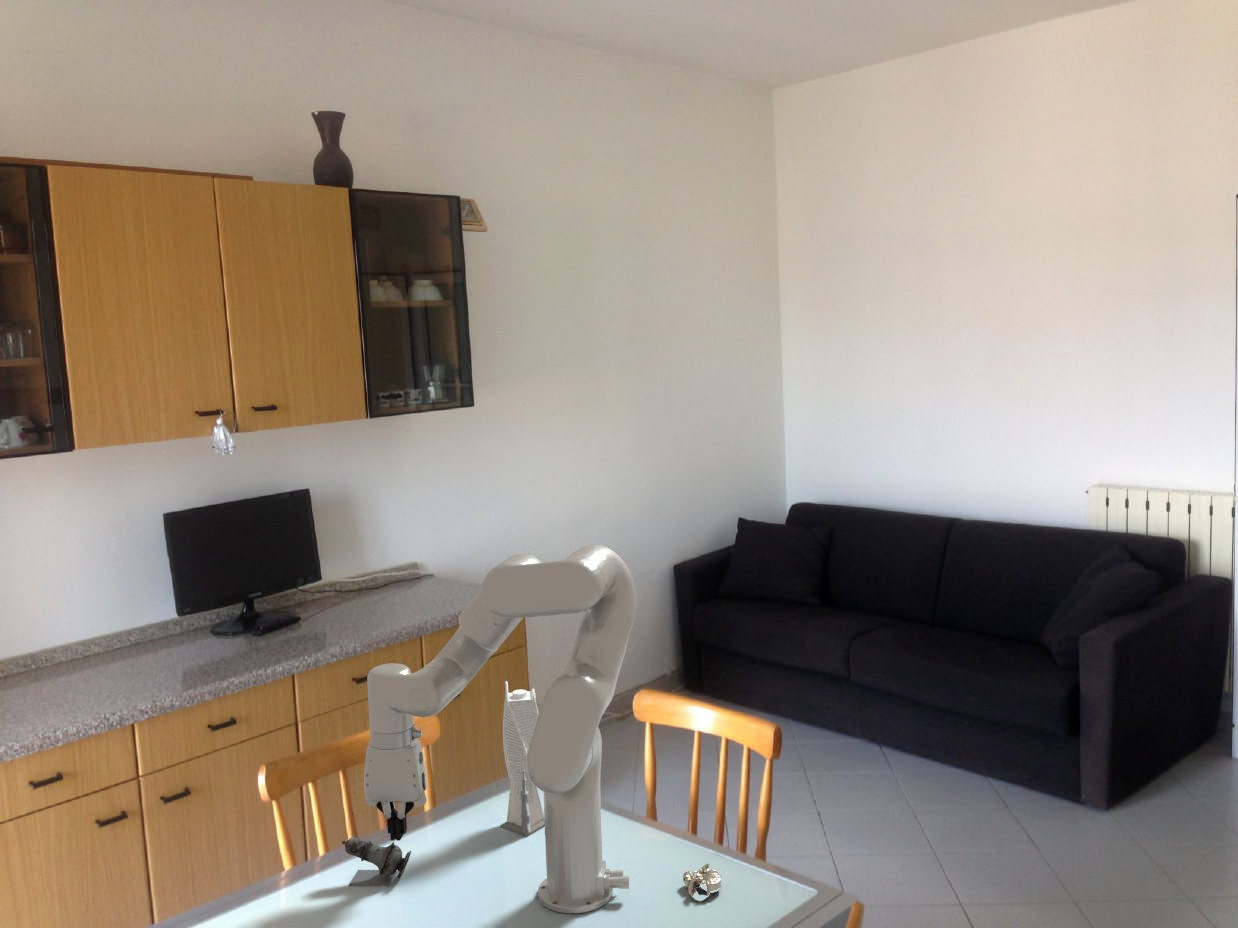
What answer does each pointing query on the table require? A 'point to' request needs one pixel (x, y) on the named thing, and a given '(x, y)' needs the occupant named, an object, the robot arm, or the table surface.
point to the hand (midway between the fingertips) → (397, 836)
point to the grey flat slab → (370, 878)
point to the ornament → (702, 879)
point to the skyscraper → (520, 762)
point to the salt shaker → (378, 856)
